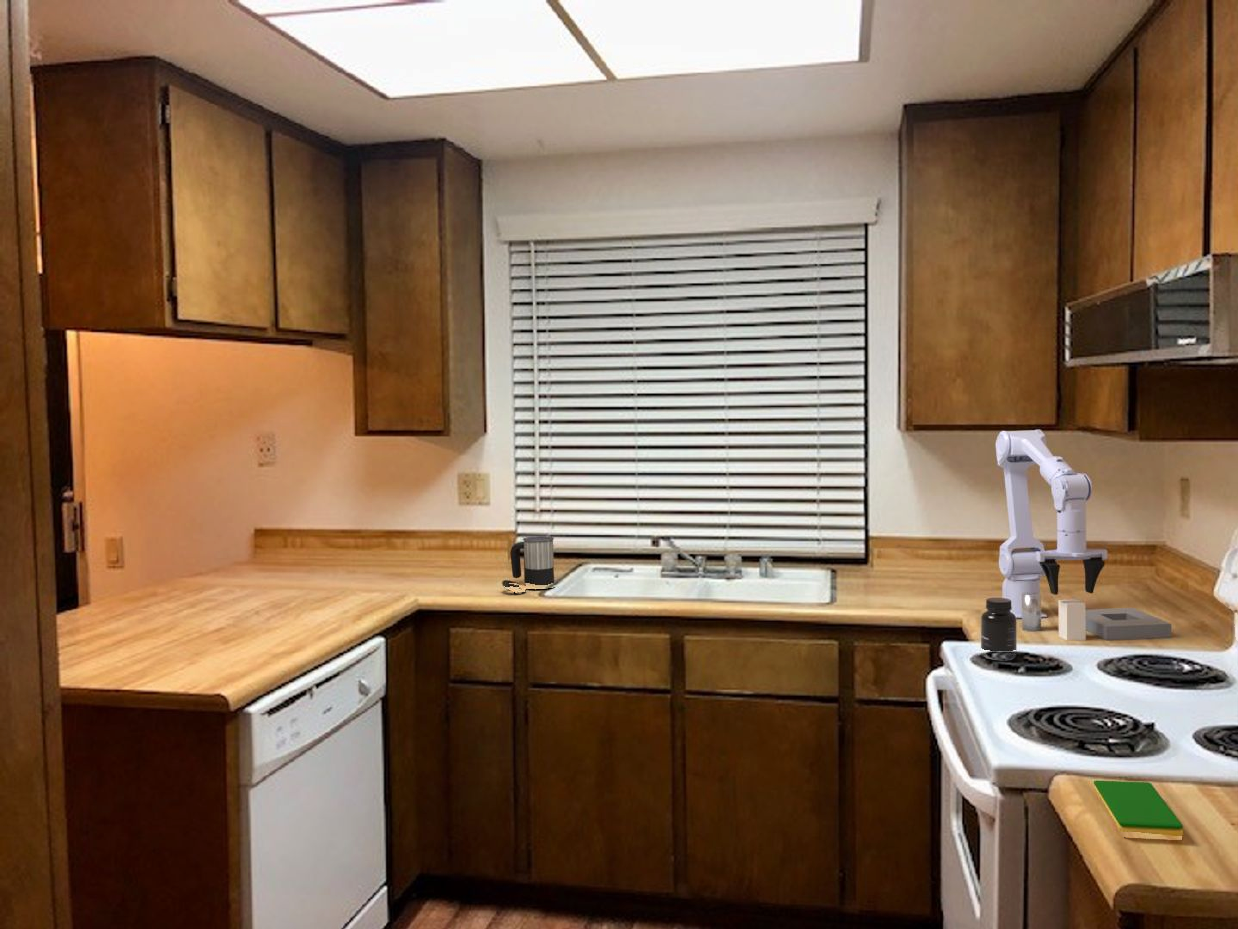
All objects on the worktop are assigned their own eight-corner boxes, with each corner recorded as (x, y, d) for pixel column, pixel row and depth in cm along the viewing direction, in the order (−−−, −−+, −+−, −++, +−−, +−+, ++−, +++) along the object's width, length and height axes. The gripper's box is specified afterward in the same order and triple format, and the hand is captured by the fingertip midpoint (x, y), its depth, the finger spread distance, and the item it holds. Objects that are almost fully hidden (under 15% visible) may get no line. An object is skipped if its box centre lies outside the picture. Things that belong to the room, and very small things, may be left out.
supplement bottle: (974, 658, 207) (974, 600, 206) (990, 651, 212) (989, 594, 211) (1007, 664, 202) (1007, 604, 201) (1022, 657, 207) (1022, 598, 206)
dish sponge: (1150, 799, 137) (1150, 781, 137) (1183, 845, 124) (1183, 825, 123) (1093, 796, 139) (1093, 779, 138) (1120, 841, 125) (1120, 822, 125)
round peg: (1019, 627, 231) (1018, 592, 231) (1036, 626, 231) (1036, 592, 231) (1026, 631, 227) (1026, 596, 227) (1044, 631, 227) (1044, 595, 227)
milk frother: (559, 584, 304) (556, 535, 302) (547, 595, 288) (545, 543, 287) (512, 585, 306) (510, 536, 305) (498, 596, 290) (496, 544, 289)
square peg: (1058, 636, 222) (1058, 600, 222) (1076, 635, 222) (1076, 599, 222) (1067, 640, 218) (1066, 604, 218) (1085, 640, 218) (1085, 603, 218)
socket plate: (1071, 623, 233) (1071, 610, 233) (1132, 620, 234) (1132, 607, 233) (1106, 640, 217) (1106, 626, 217) (1171, 637, 218) (1171, 623, 217)
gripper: (1046, 534, 214) (1046, 598, 215) (1114, 531, 215) (1114, 595, 216) (1031, 529, 221) (1032, 591, 222) (1098, 527, 222) (1098, 588, 223)
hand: (1071, 593), depth 220 cm, fingers open, 7 cm apart
